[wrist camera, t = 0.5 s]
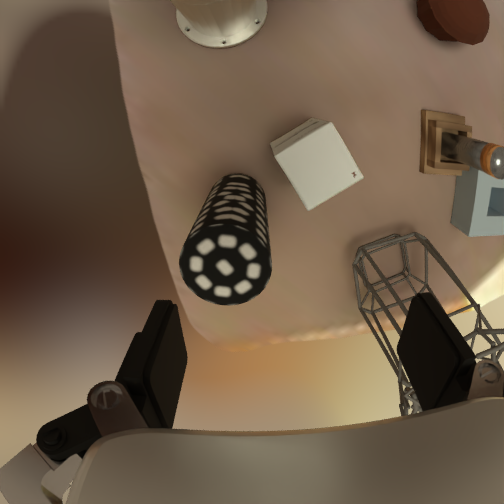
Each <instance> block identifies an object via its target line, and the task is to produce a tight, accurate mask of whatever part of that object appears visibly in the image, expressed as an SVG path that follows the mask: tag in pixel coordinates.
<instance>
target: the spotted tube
mask: <svg viewBox="0 0 504 504" xmlns="http://www.w3.org/2000/svg"><path fill="white" fill-rule="evenodd" d="M179 266H180V272H181V275H182V278H183V280H184V281H185V283H186V285H187V286H188V287H189V288H190V290H191V291H192V292H193V293H195V294H196V295H197V296H198V297H200V298H202V299H204V300H205V301H208V302H211V303H214V304H219V305H237V304H241V303H245V302H247V301H249V300H251V299H253V298H255V297H256V296H257V295H259V294H260V293H261V292H262V291H263V289H264V288H265V287H266V285H267V284H268V282H269V279H270V276H271V272H272V260H271V249H270V239H269V229H268V219H267V209H266V199H265V194H264V191H263V189H262V187H261V185H260V184H259V183H258V182H257V181H256V180H255V179H253V178H252V177H250V176H247V175H244V174H230V175H227V176H224V177H223V178H221V179H220V180H218V181H217V182H216V183H215V185H214V186H213V188H212V190H211V192H210V193H209V195H208V197H207V199H206V201H205V203H204V205H203V207H202V209H201V211H200V213H199V215H198V217H197V219H196V221H195V223H194V225H193V227H192V229H191V231H190V233H189V235H188V237H187V239H186V241H185V243H184V245H183V248H182V250H181V253H180V259H179Z"/></svg>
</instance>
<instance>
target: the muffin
mask: <svg viewBox="0 0 504 504" xmlns="http://www.w3.org/2000/svg"><path fill="white" fill-rule="evenodd" d="M417 7H418V14H417V16H418V18H419V19H420V20H421V22H422V23H423V25H424V27H425V29H426V31H428V32H429V33H431V34H432V35H434V36H435V37H436V38H437V39H439V40H448V41H459V42H462V43H466V44H470V45H475V44H477V43H480V42H483V40H484V38H485V36H486V35H487V33H488V29H489V13H488V10H487V8H486V5H485V3H484V2H483V0H418V1H417Z"/></svg>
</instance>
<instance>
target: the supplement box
mask: <svg viewBox="0 0 504 504" xmlns="http://www.w3.org/2000/svg"><path fill="white" fill-rule="evenodd" d="M270 146H271V148H272V151H273V154H274V157H275V159H276V160H277V162H278V163H279V165H280V167H281V168H282V170H283V171H284V173H285V175H286V176H287V178H288V179H289V181H290V183H291V184H292V186H293V188H294V189H295V191H296V192H297V194H298V196H299V197H300V199H301V201H302V202H303V204H304V206H305V207H306V209H307V210H308V211H309V210H311V209H313V208H315V207H317V206H318V205H320V204H321V203H323V202H325V201H326V200H328V199H330V198H331V197H333V196H335V195H337V194H338V193H340V192H341V191H343V190H345V189H346V188H348V187H350V186H351V185H353V184H355V183H356V182H358V181H360V180H362V179H363V178H364V177H363V175H362V173H361V171H360V169H359V168H358V166H357V164H356V162H355V160H354V159H353V157H352V155H351V154H350V152H349V150H348V148H347V147H346V145H345V143H344V142H343V140H342V138H341V137H340V135H339V133H338V132H337V130H336V128H335V127H334V125H333V123H332V122H328V121H324V120H320V119H315V118H310V119H309V120H307V121H306V122H304V123H303V124H301V125H300V126H298V127H296V128H295V129H293V130H291V131H290V132H288V133H286V134H285V135H283V136H281V137H280V138H278V139H276V140H274V141H273V142H271V143H270Z"/></svg>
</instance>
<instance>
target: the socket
mask: <svg viewBox="0 0 504 504" xmlns="http://www.w3.org/2000/svg"><path fill="white" fill-rule="evenodd" d="M451 224H453V225H454V226H455V227H457V228H458V229H459V230H461V231H462V232H463V233H465V234H466V235H467V236H468V237H472V236H492V235H504V179H503V180H501V179H496V178H494V177H492V176H490V175H487V174H486V173H484V172H482V171H480V170H478V169H475V168H473V167H470V168H469V171H463V170H462V176H458V175H457V178H456V188H455V196H454V204H453V211H452V217H451Z"/></svg>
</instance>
